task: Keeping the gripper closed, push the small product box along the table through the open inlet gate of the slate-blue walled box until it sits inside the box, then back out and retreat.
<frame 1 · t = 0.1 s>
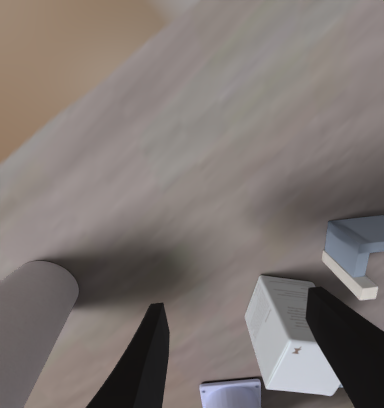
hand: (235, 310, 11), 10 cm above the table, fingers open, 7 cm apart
product box: (276, 297, 24), on the table
coffee cup: (48, 285, 23), on the table
walled box: (379, 288, 23), on the table
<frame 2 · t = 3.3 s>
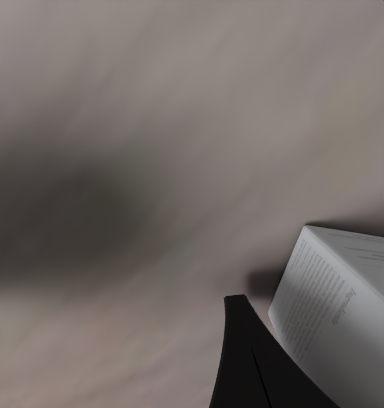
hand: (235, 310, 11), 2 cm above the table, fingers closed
product box: (330, 275, 12), on the table, touching gripper
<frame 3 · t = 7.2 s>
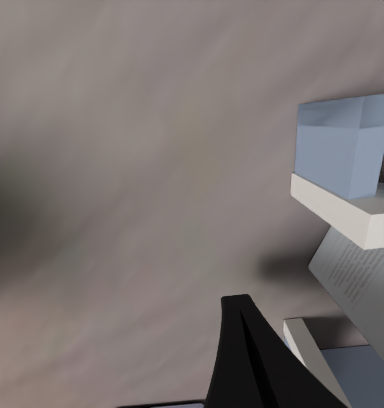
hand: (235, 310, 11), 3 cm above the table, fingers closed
product box: (371, 234, 13), resting in walled box
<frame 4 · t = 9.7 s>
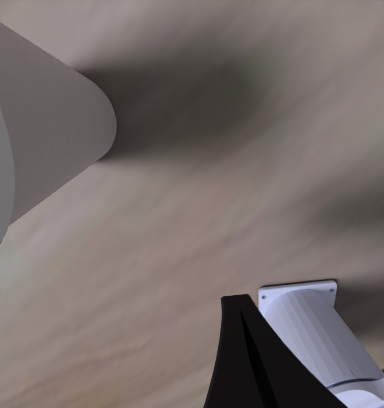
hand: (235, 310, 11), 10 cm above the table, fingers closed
coffee cup: (75, 120, 17), on the table
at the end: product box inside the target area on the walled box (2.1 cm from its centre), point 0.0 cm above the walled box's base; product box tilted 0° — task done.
